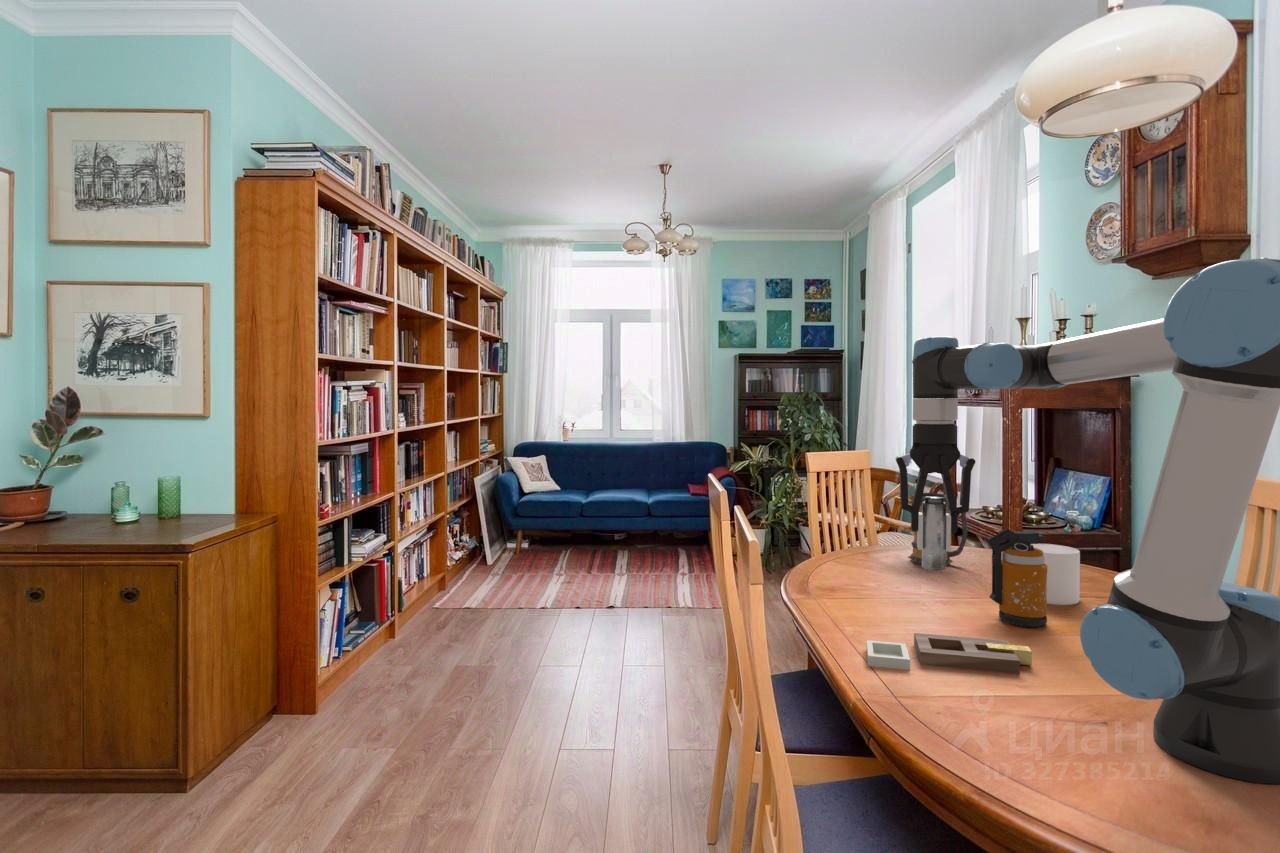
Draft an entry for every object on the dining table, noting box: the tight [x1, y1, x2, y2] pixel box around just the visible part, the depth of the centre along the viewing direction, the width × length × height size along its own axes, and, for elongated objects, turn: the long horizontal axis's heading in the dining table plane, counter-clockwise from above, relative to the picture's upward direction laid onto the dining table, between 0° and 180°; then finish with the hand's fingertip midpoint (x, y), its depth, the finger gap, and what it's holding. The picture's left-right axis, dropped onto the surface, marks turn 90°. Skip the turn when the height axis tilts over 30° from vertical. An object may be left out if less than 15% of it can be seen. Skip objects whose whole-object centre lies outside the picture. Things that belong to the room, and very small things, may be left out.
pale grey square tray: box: [866, 639, 911, 671], centre depth 122 cm, size 8×7×2 cm
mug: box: [907, 492, 972, 567], centre depth 194 cm, size 13×17×20 cm
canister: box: [988, 528, 1048, 628], centre depth 143 cm, size 9×11×20 cm
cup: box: [1030, 543, 1081, 606], centre depth 160 cm, size 12×12×12 cm
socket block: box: [913, 632, 1021, 675], centre depth 122 cm, size 10×16×3 cm, turn 73°
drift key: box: [985, 643, 1033, 666], centre depth 120 cm, size 2×7×2 cm, turn 74°
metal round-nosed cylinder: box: [921, 496, 947, 571], centre depth 122 cm, size 4×4×13 cm
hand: (933, 548), depth 122 cm, fingers closed on metal round-nosed cylinder, 4 cm apart
